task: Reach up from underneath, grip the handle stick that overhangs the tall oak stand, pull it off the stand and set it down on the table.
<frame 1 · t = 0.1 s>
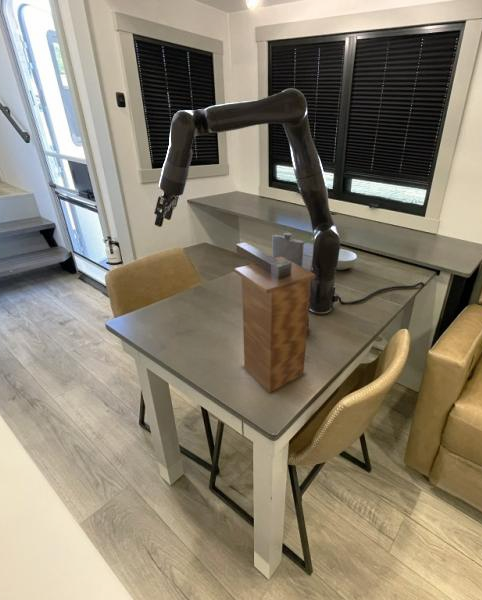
hand: (162, 222, 113), 31 cm above the table, tool tilted 20°, fingers open, 8 cm apart
cereal bowl: (338, 267, 169), on the table
hip flask: (286, 274, 157), on the table
storage jar: (293, 331, 116), on the table
oak stand: (272, 369, 98), on the table
handle stick: (261, 263, 86), point 32 cm above the table, touching oak stand
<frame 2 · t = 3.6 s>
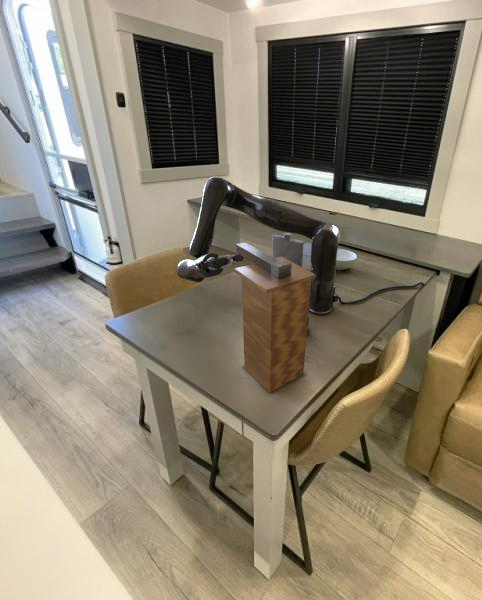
hand: (229, 259, 99), 27 cm above the table, tool pointing upward, fingers open, 8 cm apart
nothing on the table moved.
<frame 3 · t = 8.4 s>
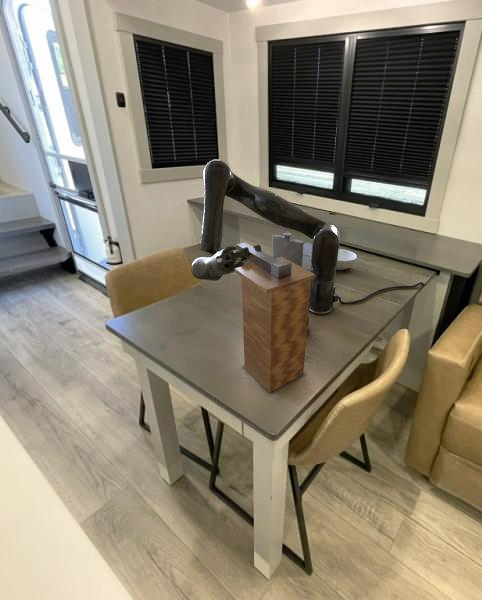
hand: (253, 249, 87), 35 cm above the table, tool pointing upward, fingers closed on handle stick, 3 cm apart
handle stick: (261, 263, 86), point 32 cm above the table, touching gripper, oak stand
everything else where it was.
when the fingers open (9 cm above the table, at t = 19.0 s): handle stick drops 5 cm, on the table.
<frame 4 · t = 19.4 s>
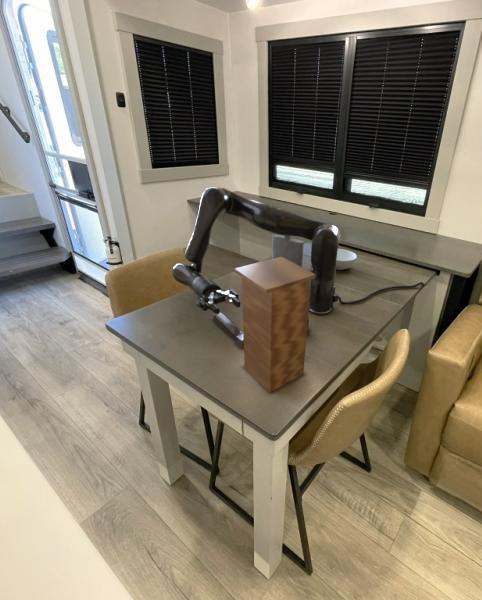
hand: (229, 308, 109), 9 cm above the table, tool horizontal, fingers open, 7 cm apart
handle stick: (231, 332, 113), on the table
everything else where it was.
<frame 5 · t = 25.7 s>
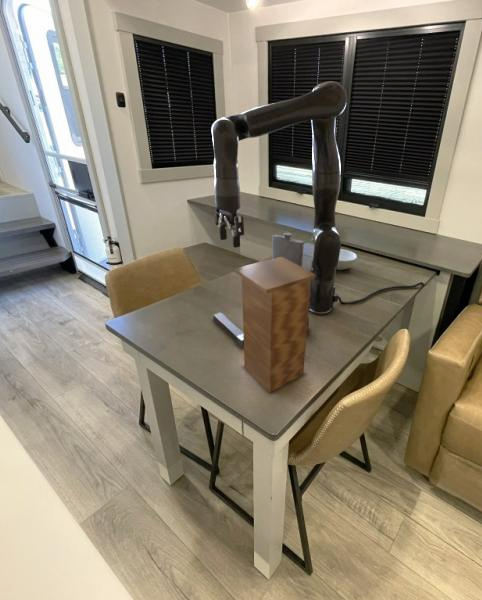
hand: (229, 243, 109), 28 cm above the table, tool pointing down, fingers open, 8 cm apart
nothing on the table moved.
at the end: handle stick on the table; handle stick moved 36.7 cm from its start; the gripper is holding nothing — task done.
